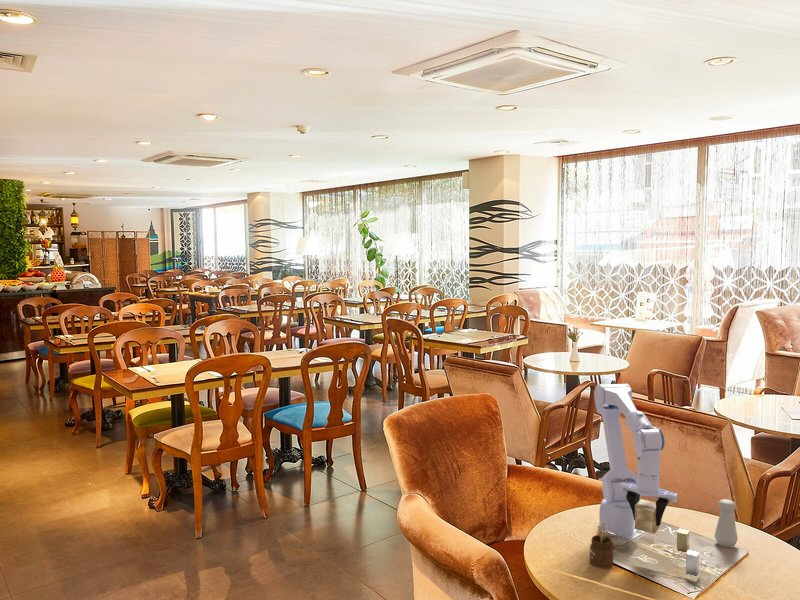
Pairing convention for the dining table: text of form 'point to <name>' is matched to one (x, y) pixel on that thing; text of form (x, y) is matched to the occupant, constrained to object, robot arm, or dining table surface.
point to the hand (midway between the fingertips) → (647, 522)
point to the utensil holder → (601, 550)
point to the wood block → (646, 516)
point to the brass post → (683, 540)
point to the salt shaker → (726, 524)
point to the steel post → (692, 562)
